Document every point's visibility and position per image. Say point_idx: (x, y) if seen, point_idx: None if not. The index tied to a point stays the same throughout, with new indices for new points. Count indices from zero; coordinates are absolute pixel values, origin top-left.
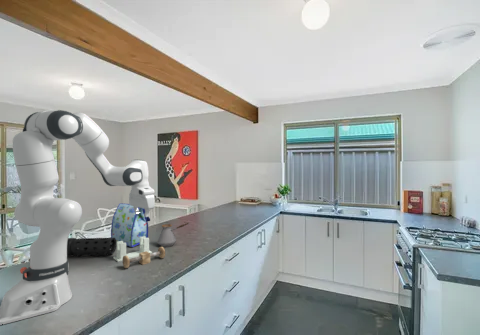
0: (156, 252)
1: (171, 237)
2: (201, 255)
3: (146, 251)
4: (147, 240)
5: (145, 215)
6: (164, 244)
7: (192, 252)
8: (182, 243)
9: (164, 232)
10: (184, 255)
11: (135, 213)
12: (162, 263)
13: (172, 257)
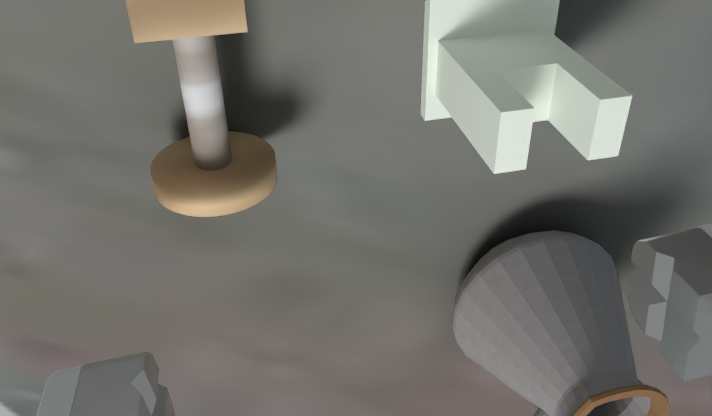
0: (199, 122)
1: (486, 357)
2: None
3: (240, 29)
4: (486, 141)
5: (41, 403)
6: (480, 263)
7: (175, 376)
8: (453, 376)
9: (559, 351)
10: (141, 311)
11: (707, 233)
12: (36, 96)
13: (157, 221)
